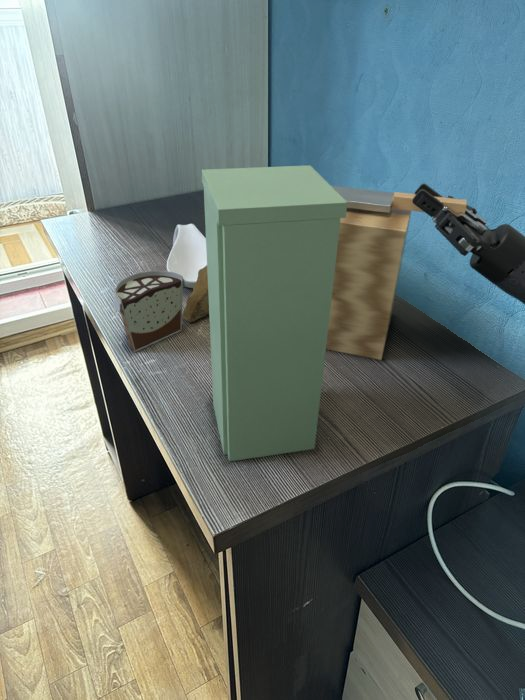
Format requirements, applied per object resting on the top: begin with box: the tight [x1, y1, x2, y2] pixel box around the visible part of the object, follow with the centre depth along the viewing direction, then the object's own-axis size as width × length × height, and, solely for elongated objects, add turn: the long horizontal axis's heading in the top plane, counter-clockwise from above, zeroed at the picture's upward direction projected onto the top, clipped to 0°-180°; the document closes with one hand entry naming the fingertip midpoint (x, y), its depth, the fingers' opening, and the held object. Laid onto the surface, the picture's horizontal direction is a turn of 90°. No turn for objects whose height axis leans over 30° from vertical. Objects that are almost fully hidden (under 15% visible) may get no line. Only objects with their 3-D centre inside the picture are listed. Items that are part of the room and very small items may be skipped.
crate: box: [326, 208, 413, 361], centre depth 83 cm, size 16×14×22 cm
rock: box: [182, 265, 209, 323], centre depth 92 cm, size 11×9×10 cm
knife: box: [331, 185, 468, 214], centre depth 75 cm, size 23×6×2 cm, turn 72°
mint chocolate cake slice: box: [113, 270, 186, 353], centre depth 84 cm, size 12×6×10 cm, turn 134°
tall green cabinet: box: [201, 164, 347, 462], centre depth 60 cm, size 12×12×32 cm
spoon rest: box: [166, 223, 207, 289], centre depth 104 cm, size 24×12×7 cm, turn 17°
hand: (417, 192), depth 73 cm, fingers closed on knife, 2 cm apart
